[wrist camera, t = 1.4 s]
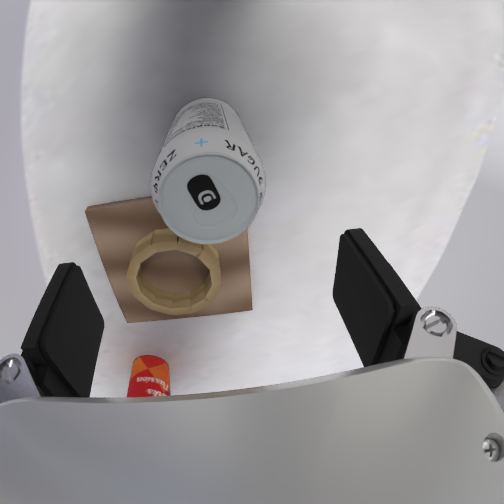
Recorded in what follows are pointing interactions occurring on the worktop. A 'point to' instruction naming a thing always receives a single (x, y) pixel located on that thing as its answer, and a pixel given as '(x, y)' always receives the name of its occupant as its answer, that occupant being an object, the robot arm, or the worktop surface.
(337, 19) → the worktop surface
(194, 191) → the energy drink can
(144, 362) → the paper cup
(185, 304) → the ring stand
